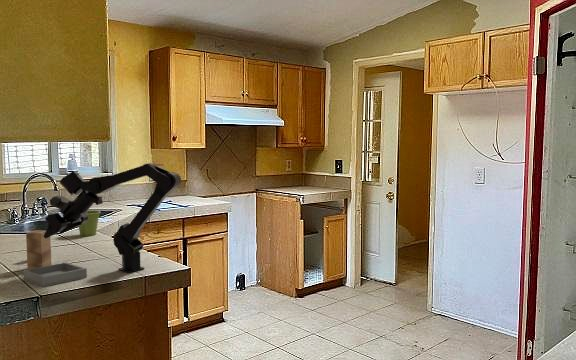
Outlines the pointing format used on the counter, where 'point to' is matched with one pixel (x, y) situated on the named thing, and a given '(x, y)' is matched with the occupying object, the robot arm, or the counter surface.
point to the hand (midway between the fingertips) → (52, 235)
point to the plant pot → (90, 224)
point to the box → (55, 274)
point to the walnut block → (38, 249)
